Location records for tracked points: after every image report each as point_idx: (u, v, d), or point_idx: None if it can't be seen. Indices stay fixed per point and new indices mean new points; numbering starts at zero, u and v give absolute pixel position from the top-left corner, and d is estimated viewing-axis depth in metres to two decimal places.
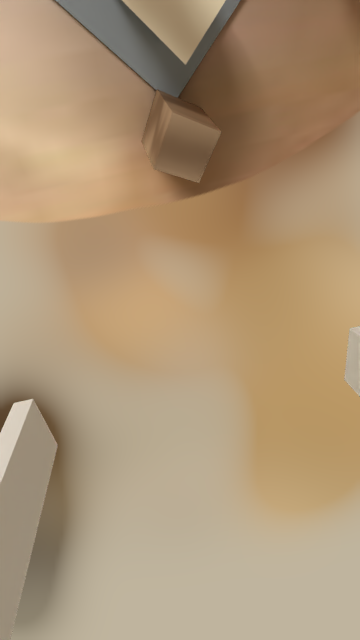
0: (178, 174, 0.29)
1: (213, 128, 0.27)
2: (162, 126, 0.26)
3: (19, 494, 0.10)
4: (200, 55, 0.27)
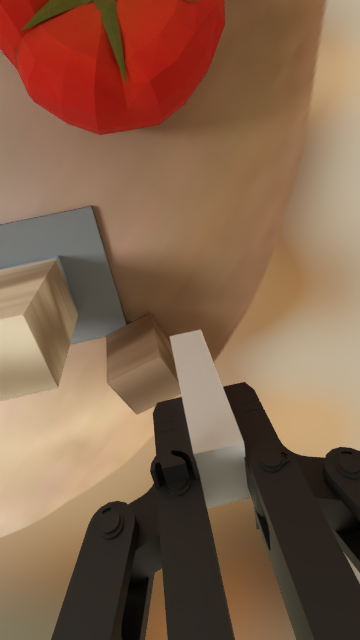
0: (160, 401, 0.26)
1: (151, 359, 0.24)
2: None
3: None
4: (112, 290, 0.27)
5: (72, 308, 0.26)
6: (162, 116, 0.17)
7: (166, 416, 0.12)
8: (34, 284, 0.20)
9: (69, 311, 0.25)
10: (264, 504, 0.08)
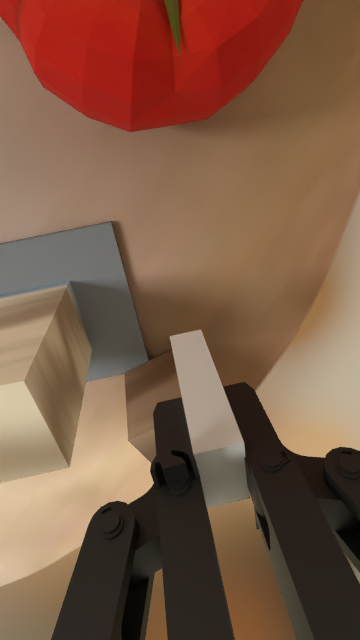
0: None
1: None
2: None
3: None
4: (132, 320, 0.22)
5: (85, 344, 0.21)
6: (219, 106, 0.12)
7: (166, 416, 0.12)
8: (39, 326, 0.16)
9: (82, 350, 0.20)
10: (264, 504, 0.08)
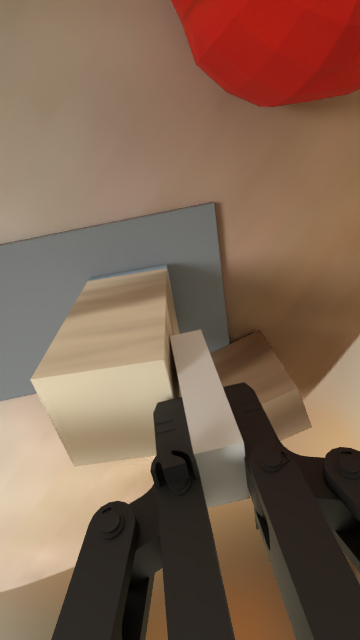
0: (281, 438, 0.22)
1: (285, 390, 0.19)
2: None
3: None
4: (220, 303, 0.23)
5: (177, 330, 0.21)
6: None
7: (166, 416, 0.12)
8: (156, 307, 0.15)
9: None
10: (264, 504, 0.08)
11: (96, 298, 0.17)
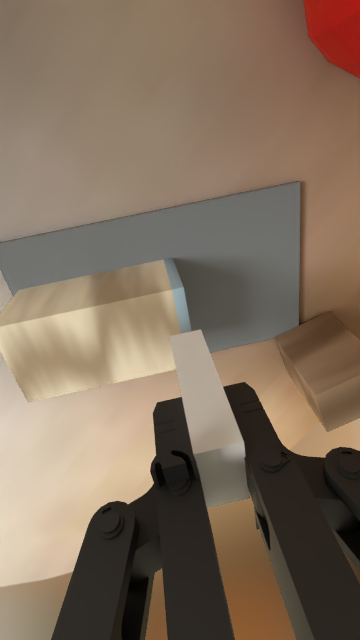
0: (358, 416, 0.22)
1: None
2: (309, 394, 0.22)
3: None
4: (295, 283, 0.23)
5: (168, 355, 0.18)
6: None
7: (166, 416, 0.12)
8: (73, 307, 0.17)
9: (149, 356, 0.18)
10: (264, 504, 0.08)
11: (118, 275, 0.20)
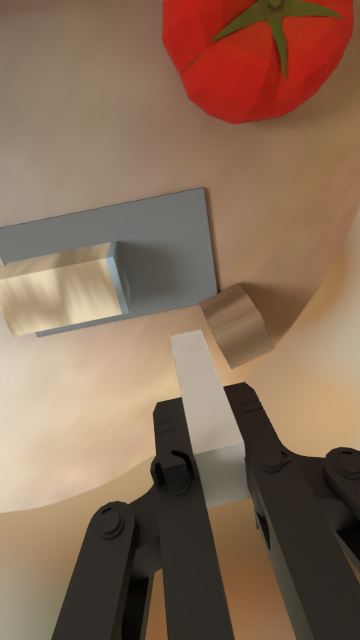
0: (253, 357, 0.30)
1: (252, 316, 0.28)
2: None
3: None
4: (210, 261, 0.31)
5: (107, 305, 0.27)
6: None
7: (166, 416, 0.12)
8: (41, 269, 0.25)
9: (94, 305, 0.27)
10: (264, 504, 0.08)
11: (77, 252, 0.28)
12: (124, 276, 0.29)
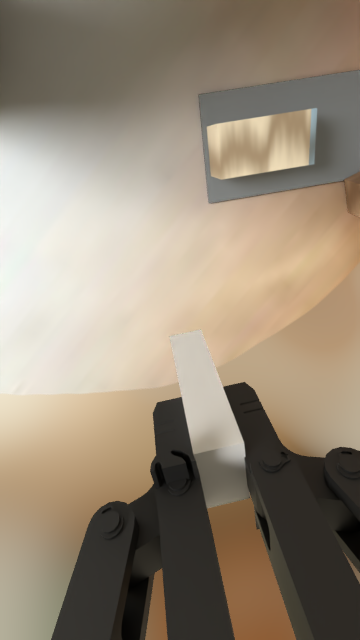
0: None
1: None
2: None
3: None
4: None
5: (300, 155, 0.33)
6: None
7: (166, 416, 0.12)
8: (258, 117, 0.32)
9: (290, 154, 0.33)
10: (264, 504, 0.08)
11: None
12: None
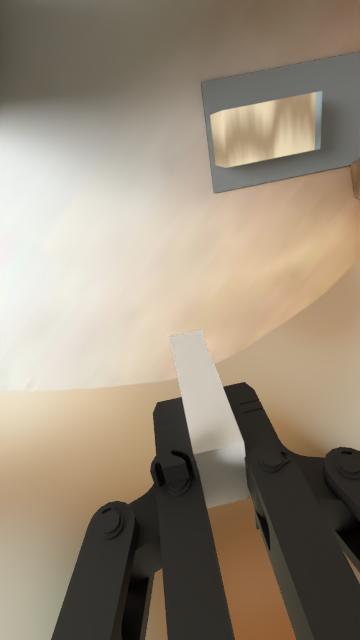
0: None
1: None
2: None
3: None
4: None
5: (305, 140, 0.33)
6: None
7: (166, 416, 0.12)
8: None
9: (296, 139, 0.33)
10: (264, 504, 0.08)
11: None
12: None
